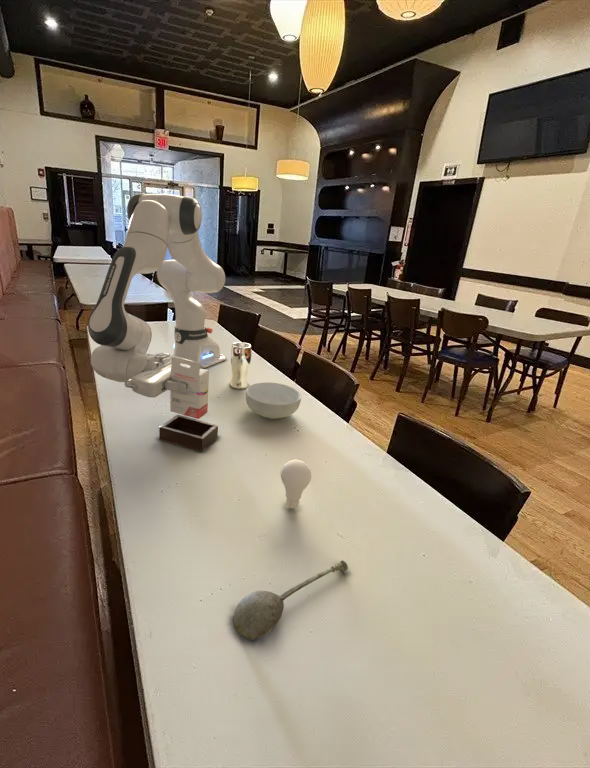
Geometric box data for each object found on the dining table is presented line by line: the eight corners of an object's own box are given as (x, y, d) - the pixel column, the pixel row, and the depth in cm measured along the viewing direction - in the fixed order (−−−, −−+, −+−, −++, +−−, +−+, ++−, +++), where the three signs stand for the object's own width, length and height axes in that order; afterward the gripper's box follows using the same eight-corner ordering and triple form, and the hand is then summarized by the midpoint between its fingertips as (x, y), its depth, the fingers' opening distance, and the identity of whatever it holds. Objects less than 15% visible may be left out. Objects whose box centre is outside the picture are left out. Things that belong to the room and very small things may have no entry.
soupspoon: (224, 615, 62) (248, 653, 57) (225, 600, 60) (250, 637, 56) (331, 555, 74) (358, 583, 69) (334, 541, 72) (362, 568, 67)
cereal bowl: (269, 431, 116) (272, 408, 113) (233, 409, 127) (234, 388, 125) (310, 417, 127) (313, 395, 124) (273, 398, 138) (275, 378, 135)
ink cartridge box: (208, 412, 107) (210, 358, 101) (198, 419, 102) (200, 364, 97) (180, 404, 110) (180, 351, 104) (169, 411, 105) (169, 356, 100)
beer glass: (249, 383, 149) (253, 343, 143) (247, 390, 142) (250, 348, 137) (230, 381, 149) (233, 341, 144) (227, 388, 143) (230, 346, 137)
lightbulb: (272, 501, 87) (277, 456, 83) (297, 496, 89) (303, 452, 85) (285, 520, 82) (291, 473, 78) (311, 513, 84) (319, 467, 80)
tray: (177, 425, 115) (177, 414, 113) (217, 437, 111) (218, 425, 109) (159, 439, 107) (159, 426, 106) (201, 451, 103) (202, 439, 102)
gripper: (119, 371, 97) (169, 384, 93) (168, 350, 115) (212, 360, 110) (120, 396, 99) (169, 409, 95) (168, 372, 117) (211, 382, 113)
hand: (193, 383), depth 103 cm, fingers closed on ink cartridge box, 5 cm apart
